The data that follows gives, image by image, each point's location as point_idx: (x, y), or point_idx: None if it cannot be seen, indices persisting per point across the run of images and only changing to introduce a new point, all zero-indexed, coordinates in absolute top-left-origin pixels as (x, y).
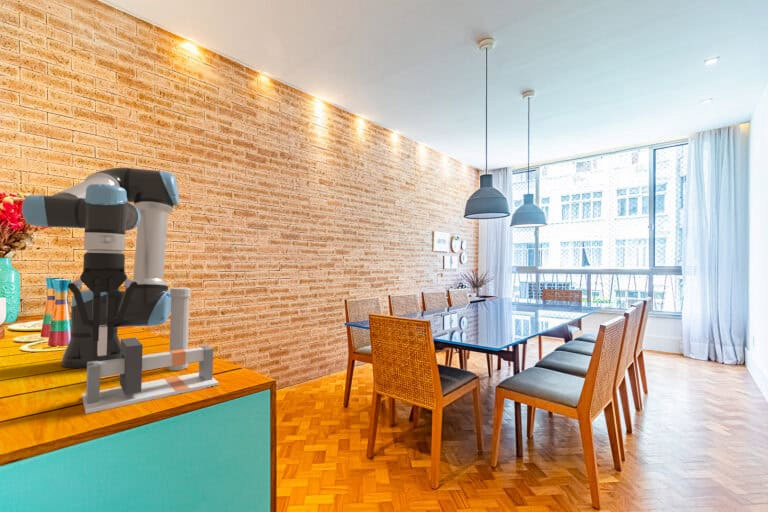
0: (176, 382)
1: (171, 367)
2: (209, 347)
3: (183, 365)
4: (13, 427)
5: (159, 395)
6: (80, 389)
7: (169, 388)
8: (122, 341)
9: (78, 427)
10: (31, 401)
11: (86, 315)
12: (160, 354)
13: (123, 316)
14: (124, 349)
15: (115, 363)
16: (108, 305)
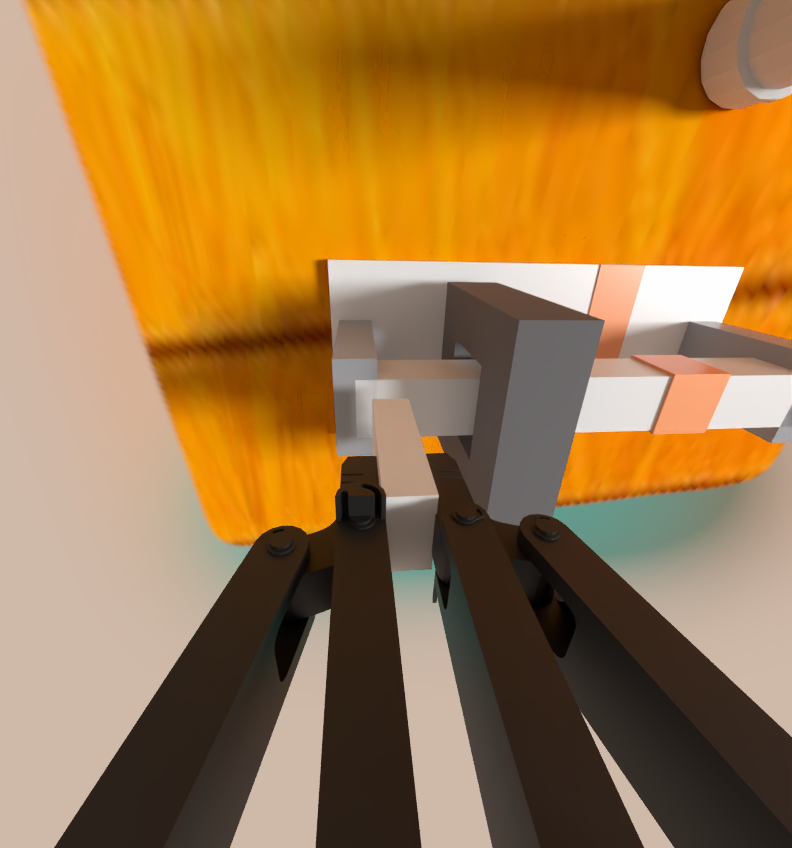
0: (600, 351)
1: (713, 76)
2: None
3: (759, 102)
4: (185, 422)
5: None
6: (321, 119)
7: None
8: (504, 400)
9: (324, 505)
10: (161, 172)
11: (284, 680)
12: (615, 410)
13: (562, 620)
14: (482, 463)
15: (433, 433)
16: (484, 778)
